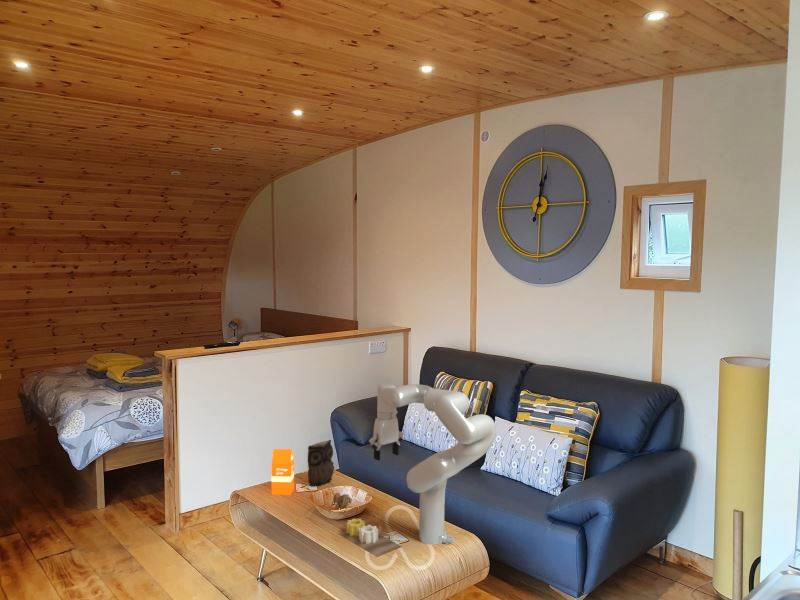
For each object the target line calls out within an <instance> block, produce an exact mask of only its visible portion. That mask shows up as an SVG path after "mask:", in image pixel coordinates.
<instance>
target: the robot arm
mask: <svg viewBox="0 0 800 600" xmlns="http://www.w3.org/2000/svg"><path fill="white" fill-rule="evenodd" d="M376 395H377V396H376V397H377V398H376V399H377V401H376V402H377V407H376V408H377V410H376V411H377V412H376V413H377V414H376V415H377V417H376V418H375V421H374V425H373V433H372V434H373V435H372V437H371V438H370V439H369V440H368V443H369V446H370V447H371V448H372V450H373V459H374V460H375V461H376V460H377V462H378V461H380V460H381V450H380V448H381V447H382V446H384V445H388V444H392V454H393V455H394V456H395V455H396V456H399V454H400V451H399V450H400V445H401V442H402V440H403V437H404V432H403V431H400V430H399V421H398V417H397V414H398V410H397V408H401V407H404V406H408V405H410V404H414V403H415V404H416V403H417V404H423V405H424V408H425V410H427V411H429V412H432V413H433V412H434V413H435V415H436V416H437V418H438V420H439V421H440V422H441V424H443V426H444V427H445V428H446V429H447V431H448V432H449V434H451V436H452V437H453V438H454V439H455V440H456V441H457V444H454V445H453V446H452V447H449V448H448V449H444V450H441V451H439V452H436V453H435V454H432V455H430V456H428V457H427V458H425V459H424V460H423V461H421V462H419V463H417V464H416V465H415V466H413V467H412V468H410V469H409V470H408V472H407V474H406V479H405V480H406V486H407V487H408V489H409V490H410V491H411V492H413V493H416V494H419V509H418V510H419V511H418V512H419V515H418V516H419V521H418V523H419V525H418V526H419V527H418V528H419V529H418V539H419V541H420V542H421V543H423V544H426V545H430V546H431V545H432V546H433V545H443V544H446V545H448V544H452V545H454V544H455V538H454V535H451V534H447V529H445V502H446V501H445V499H446V486H447V483H448V479H449V478H451V477H453V476H455V475H457V474H458V473H460V472H461V471H462V470H464V469H465V468H467V467H468V466H470V465H472V463H474V462H475V461H477V460H479V459H480V458H481V457H483V456H484V455H485V454H486V453H487V452H488V451H489V450H490V449H491V448H492V446H493V444H494V442H495V439H496V434H497V433H496V431H497V430H496V424H495V421H494V420H493V418H492V417H491V416H489V415H487V414H484V413H483V414H481V413H480V414H475V415H472V416H469V417H467V418H466V417H465V416H464V415H463V414H464V413H465V412H466V411H467V410H468V409H469V407H470V399H469V397H468V395H466V394H465V393H464V392H461V391H456V390H451V389H450V390H449V389H440V388H439V389H438V388H433V387H431V386H430V385H425V384H417V383H412V384H411V383H409V384H404V385H401V386H396V385H395V384H393V383H387V382H386V383H381V384H379V385H378V386H377V394H376Z"/></svg>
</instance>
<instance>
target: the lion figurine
mask: <svg viewBox="0 0 800 600" xmlns="http://www.w3.org/2000/svg"><path fill="white" fill-rule="evenodd" d="M332 498H333V500H332V501H333V502H332V503H334V504H332V506H333V505H335V506H337V509H338V508H341V509H343V508H345V509H347V507H348V506H349V504H352V502H353V499H352V498H351V497H350V496H349V494H347V493H345V494H342V495H341V493H338V492H336V493H334V495H333V497H332Z"/></svg>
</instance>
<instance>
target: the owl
mask: <svg viewBox="0 0 800 600" xmlns="http://www.w3.org/2000/svg"><path fill="white" fill-rule="evenodd" d="M331 443H332V440H331V439H329V440H326V441H321V442H317V443H314V444H312V445H309V446H308V447H307V449H308V450H307V469H308V470H307V471H308V472H307V480H308V485H309V487H312V488H313V487H321V486H325V485H326V484H330V483H331V481H332V479H333V475H334V469H335V466H334V464H335V463H334V462H333V460H332V458H333V456H334V450H333V449H334V448H333V446H332V444H331Z"/></svg>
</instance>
